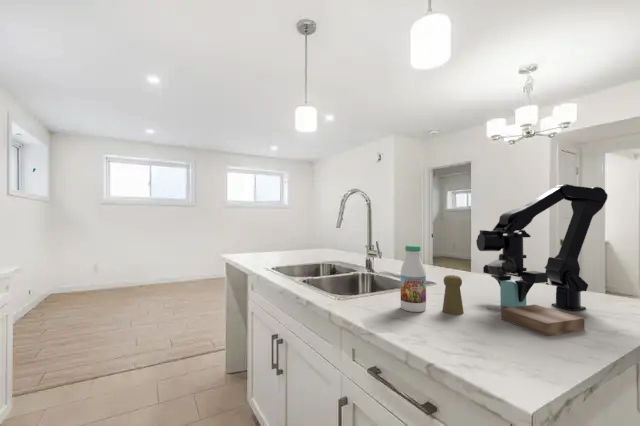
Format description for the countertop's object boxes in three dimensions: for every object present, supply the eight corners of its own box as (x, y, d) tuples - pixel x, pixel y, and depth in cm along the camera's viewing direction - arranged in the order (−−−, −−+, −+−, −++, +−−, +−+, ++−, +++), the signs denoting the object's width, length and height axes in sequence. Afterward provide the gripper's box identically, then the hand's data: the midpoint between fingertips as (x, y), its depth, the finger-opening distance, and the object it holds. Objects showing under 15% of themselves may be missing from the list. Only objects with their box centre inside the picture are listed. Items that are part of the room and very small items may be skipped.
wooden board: (535, 314, 91) (535, 304, 91) (584, 330, 78) (584, 318, 78) (501, 319, 87) (501, 308, 87) (547, 336, 74) (547, 323, 75)
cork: (466, 315, 90) (465, 277, 91) (444, 314, 92) (444, 277, 92) (460, 309, 96) (460, 274, 96) (440, 308, 98) (440, 273, 98)
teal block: (512, 304, 102) (511, 279, 102) (526, 308, 97) (526, 282, 97) (500, 305, 100) (500, 280, 100) (514, 309, 96) (514, 284, 96)
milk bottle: (397, 305, 100) (396, 244, 100) (420, 305, 101) (419, 244, 101) (405, 313, 92) (405, 246, 93) (430, 312, 93) (430, 246, 93)
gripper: (470, 249, 105) (470, 294, 105) (520, 255, 88) (521, 310, 87) (495, 248, 109) (496, 292, 109) (548, 254, 91) (549, 306, 91)
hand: (513, 299), depth 99 cm, fingers closed on teal block, 5 cm apart
